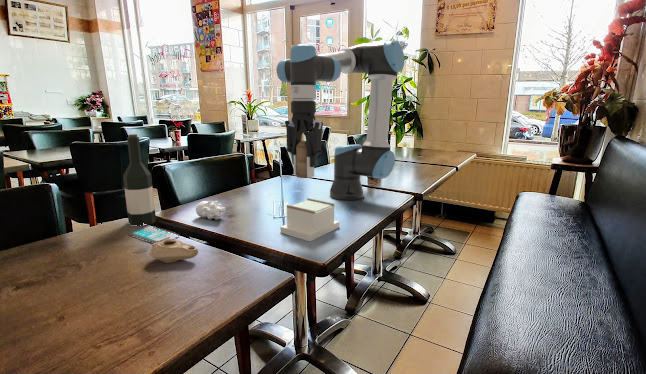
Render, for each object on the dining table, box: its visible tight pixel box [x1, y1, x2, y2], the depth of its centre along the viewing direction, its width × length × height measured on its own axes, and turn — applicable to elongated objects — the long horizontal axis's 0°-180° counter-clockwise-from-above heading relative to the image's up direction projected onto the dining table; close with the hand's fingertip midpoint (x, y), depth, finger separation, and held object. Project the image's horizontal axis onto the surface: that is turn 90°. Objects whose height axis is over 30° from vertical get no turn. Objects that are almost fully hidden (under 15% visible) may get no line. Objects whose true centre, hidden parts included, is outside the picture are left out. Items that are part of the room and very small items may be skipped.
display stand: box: [280, 197, 340, 242], centre depth 113 cm, size 16×12×9 cm
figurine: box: [195, 200, 227, 221], centre depth 124 cm, size 7×7×12 cm
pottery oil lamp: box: [148, 239, 199, 264], centre depth 91 cm, size 9×12×7 cm
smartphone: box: [128, 226, 181, 243], centre depth 108 cm, size 9×1×15 cm
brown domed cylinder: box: [296, 140, 309, 179], centre depth 109 cm, size 5×5×11 cm
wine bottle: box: [122, 133, 157, 227], centre depth 116 cm, size 8×8×30 cm
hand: (303, 175), depth 110 cm, fingers closed on brown domed cylinder, 5 cm apart
